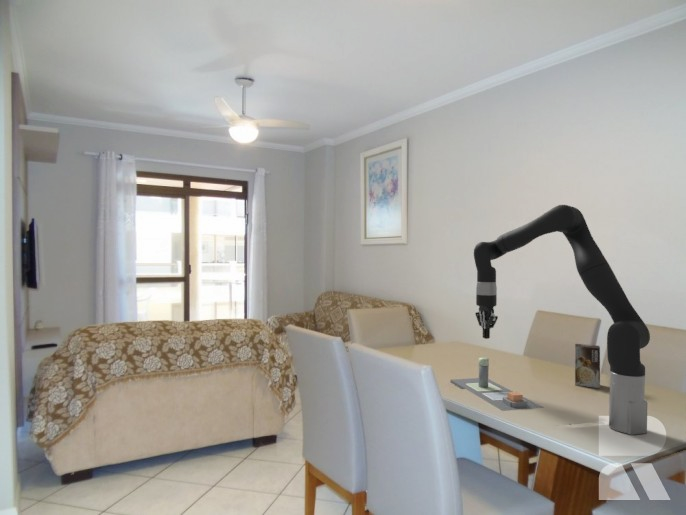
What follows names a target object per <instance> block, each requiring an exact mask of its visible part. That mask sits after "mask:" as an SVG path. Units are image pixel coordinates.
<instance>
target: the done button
mask: <svg viewBox="0 0 686 515" xmlns="http://www.w3.org/2000/svg"><path fill="white" fill-rule="evenodd" d="M523 397H524V395H523V394H522V393H520V392H518V391H513V392H507V399H508V400H510V401H512V402H520V401H523Z"/></svg>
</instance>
